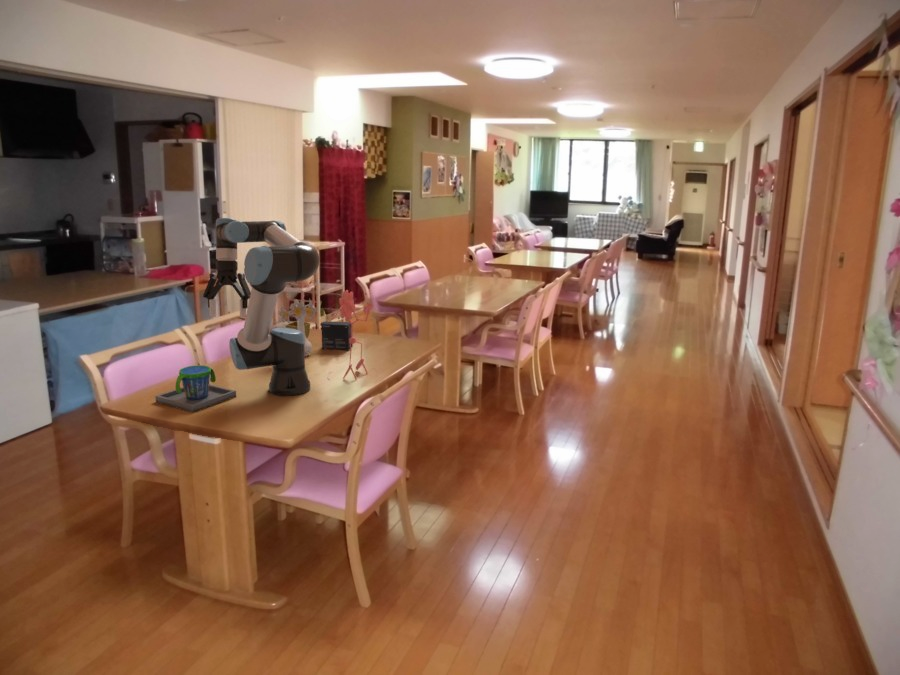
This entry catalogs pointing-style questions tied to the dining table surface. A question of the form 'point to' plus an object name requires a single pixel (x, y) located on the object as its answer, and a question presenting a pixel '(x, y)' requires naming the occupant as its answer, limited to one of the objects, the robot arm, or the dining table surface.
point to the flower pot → (295, 326)
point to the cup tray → (193, 405)
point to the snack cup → (195, 381)
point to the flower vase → (300, 318)
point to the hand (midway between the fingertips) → (227, 317)
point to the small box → (336, 335)
